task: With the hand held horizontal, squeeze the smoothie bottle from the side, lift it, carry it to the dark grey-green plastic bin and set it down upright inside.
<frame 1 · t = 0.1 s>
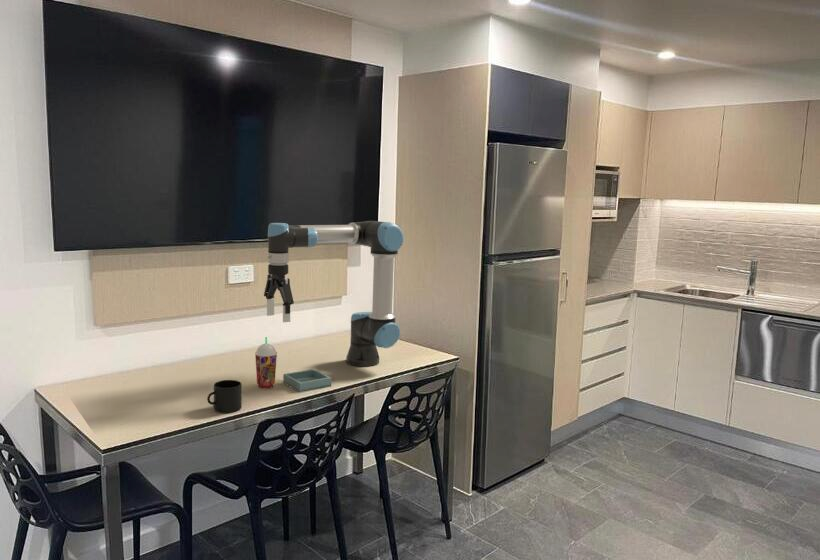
hand: (278, 318, 240), 28 cm above the table, tool pointing down, fingers open, 13 cm apart
bin: (307, 384, 250), on the table
mug: (224, 409, 220), on the table
smoothie: (265, 386, 246), on the table
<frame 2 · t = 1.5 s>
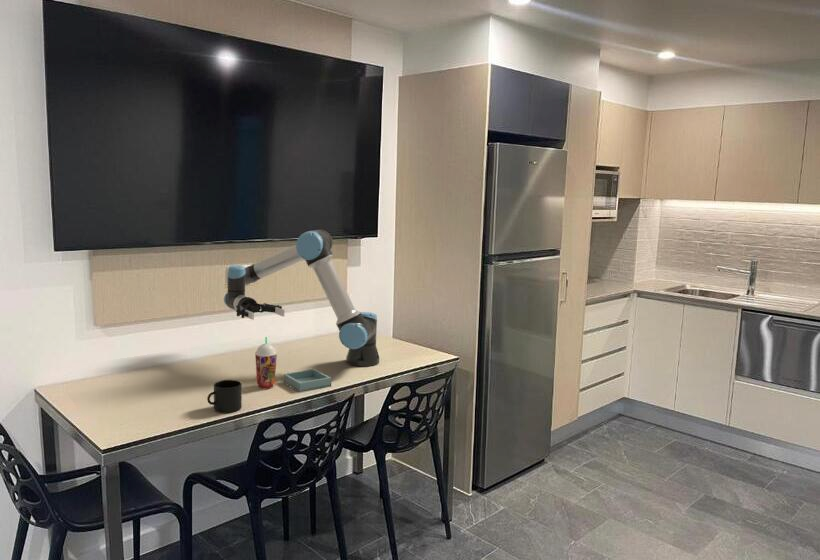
hand: (268, 314, 254), 26 cm above the table, tool horizontal, fingers open, 13 cm apart
nothing on the table moved.
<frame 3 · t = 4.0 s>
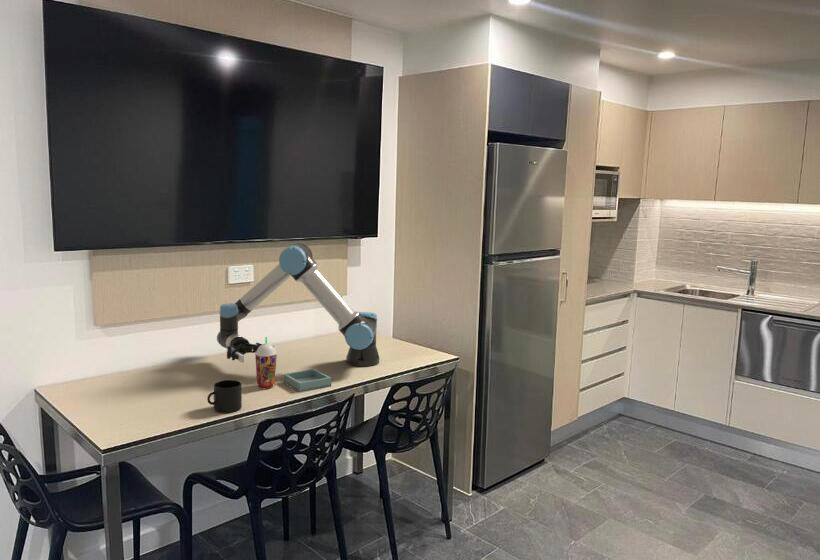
hand: (259, 356, 247), 11 cm above the table, tool horizontal, fingers open, 13 cm apart
nothing on the table moved.
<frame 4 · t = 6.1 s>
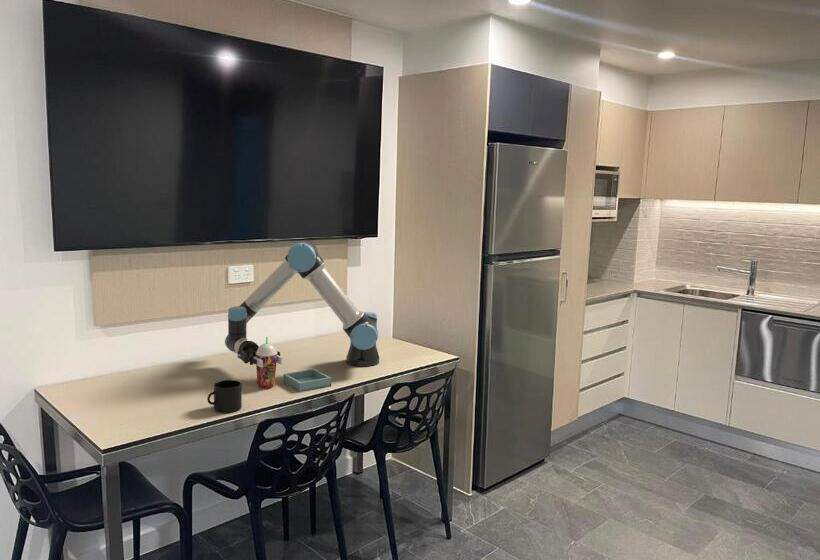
hand: (271, 362, 240), 11 cm above the table, tool horizontal, fingers closed on smoothie, 7 cm apart
smoothie: (265, 386, 246), on the table, touching gripper
everything else where it was.
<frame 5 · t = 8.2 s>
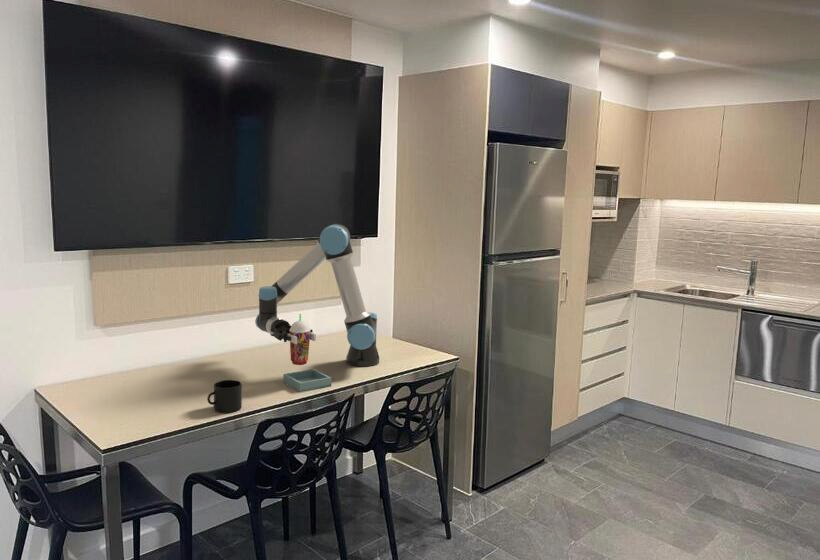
hand: (305, 339, 243), 20 cm above the table, tool horizontal, fingers closed on smoothie, 7 cm apart
smoothie: (299, 363, 248), point 9 cm above the table, touching gripper
everything else where it was.
when the fingers open (13 cm above the table, at t = 10.1 s): smoothie moves 3 cm, resting on bin.
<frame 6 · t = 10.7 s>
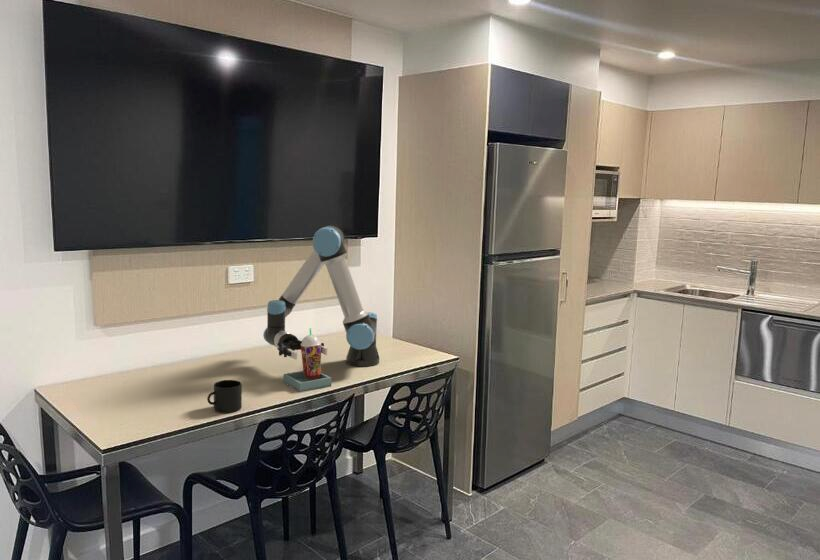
hand: (311, 353, 246), 13 cm above the table, tool horizontal, fingers open, 13 cm apart
smoothie: (312, 377, 252), point 2 cm above the table, touching bin, gripper
everything else where it was.
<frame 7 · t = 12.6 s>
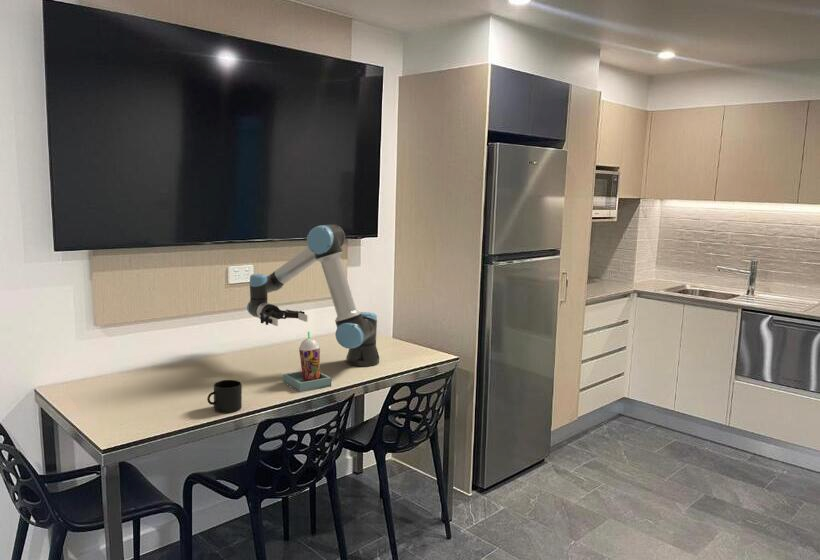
hand: (292, 320, 256), 24 cm above the table, tool horizontal, fingers open, 13 cm apart
smoothie: (311, 380, 252), point 1 cm above the table, touching bin
everything else where it was.
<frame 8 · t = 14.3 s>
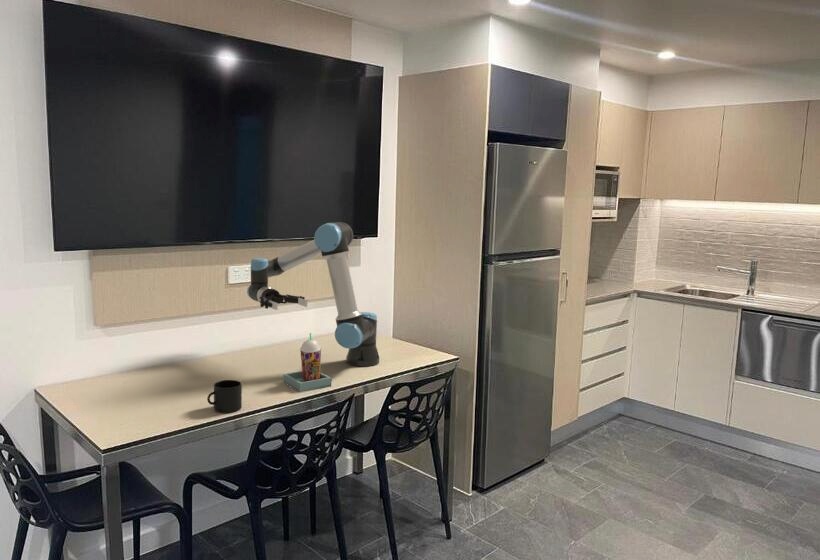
hand: (291, 305, 256), 30 cm above the table, tool horizontal, fingers open, 13 cm apart
at the end: smoothie inside the target area on the bin (2.5 cm from its centre), point 0.9 cm above the bin's base; smoothie tilted 5°; the gripper is holding nothing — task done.
